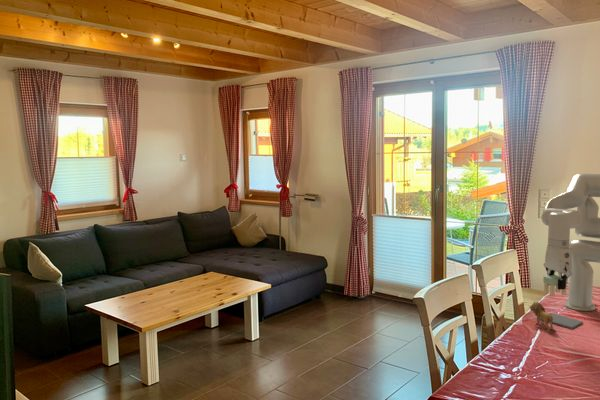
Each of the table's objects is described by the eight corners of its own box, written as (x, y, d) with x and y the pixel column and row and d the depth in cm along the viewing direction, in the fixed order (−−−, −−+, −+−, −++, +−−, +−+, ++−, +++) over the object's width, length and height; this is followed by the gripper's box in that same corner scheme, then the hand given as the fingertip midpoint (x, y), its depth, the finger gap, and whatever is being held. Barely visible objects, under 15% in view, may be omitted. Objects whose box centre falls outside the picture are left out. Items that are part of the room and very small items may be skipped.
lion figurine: (526, 321, 208) (527, 300, 207) (537, 319, 209) (538, 299, 208) (550, 334, 193) (551, 312, 192) (562, 333, 194) (563, 311, 193)
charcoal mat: (549, 314, 215) (549, 312, 215) (582, 323, 204) (583, 321, 204) (538, 319, 209) (538, 317, 209) (571, 329, 198) (572, 327, 198)
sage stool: (558, 291, 197) (558, 274, 196) (567, 294, 192) (567, 278, 191) (543, 292, 196) (543, 276, 195) (551, 296, 191) (552, 279, 190)
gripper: (583, 247, 184) (580, 292, 186) (551, 237, 200) (549, 280, 203) (565, 248, 182) (563, 294, 185) (535, 239, 199) (534, 281, 201)
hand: (556, 286), depth 194 cm, fingers closed on sage stool, 5 cm apart
